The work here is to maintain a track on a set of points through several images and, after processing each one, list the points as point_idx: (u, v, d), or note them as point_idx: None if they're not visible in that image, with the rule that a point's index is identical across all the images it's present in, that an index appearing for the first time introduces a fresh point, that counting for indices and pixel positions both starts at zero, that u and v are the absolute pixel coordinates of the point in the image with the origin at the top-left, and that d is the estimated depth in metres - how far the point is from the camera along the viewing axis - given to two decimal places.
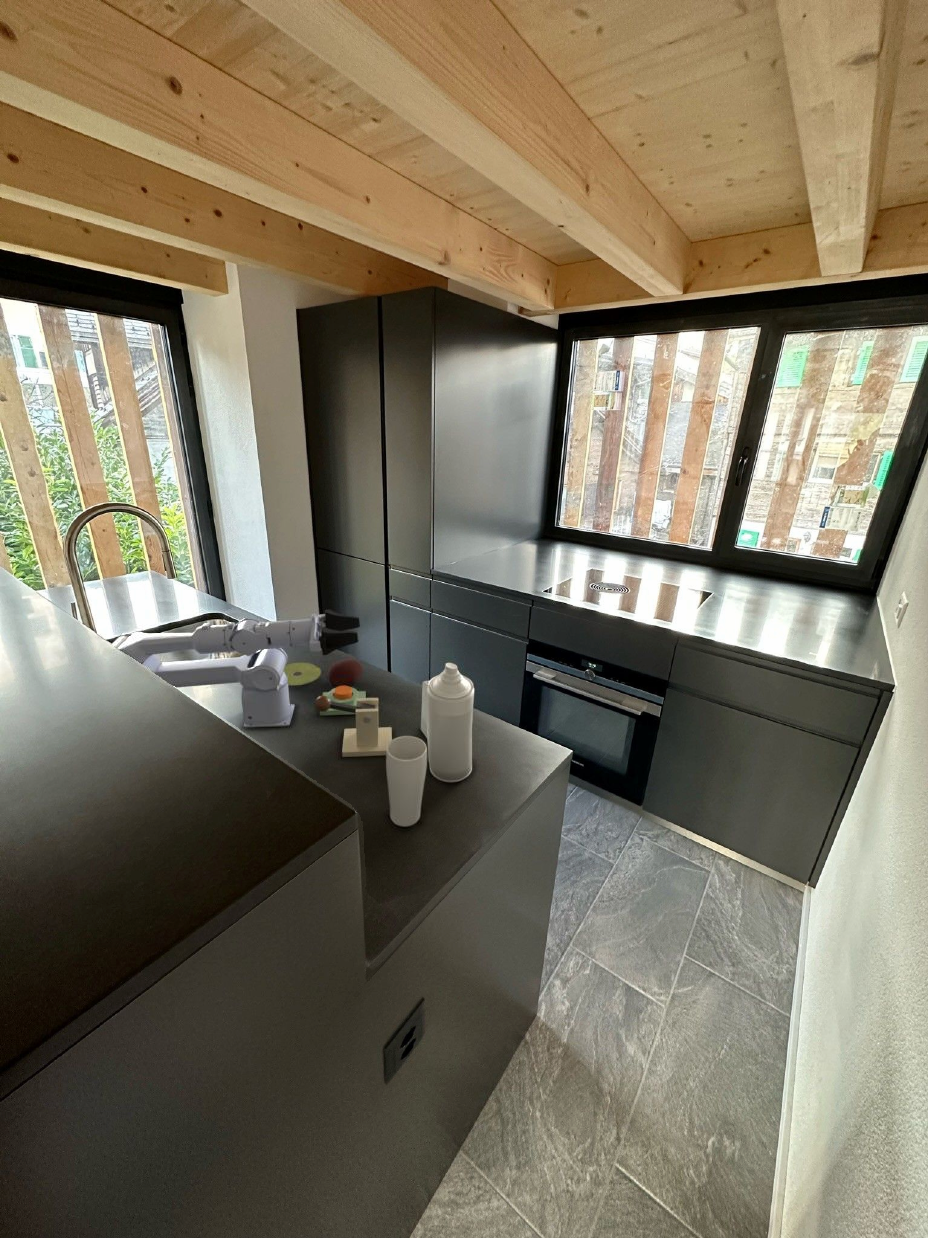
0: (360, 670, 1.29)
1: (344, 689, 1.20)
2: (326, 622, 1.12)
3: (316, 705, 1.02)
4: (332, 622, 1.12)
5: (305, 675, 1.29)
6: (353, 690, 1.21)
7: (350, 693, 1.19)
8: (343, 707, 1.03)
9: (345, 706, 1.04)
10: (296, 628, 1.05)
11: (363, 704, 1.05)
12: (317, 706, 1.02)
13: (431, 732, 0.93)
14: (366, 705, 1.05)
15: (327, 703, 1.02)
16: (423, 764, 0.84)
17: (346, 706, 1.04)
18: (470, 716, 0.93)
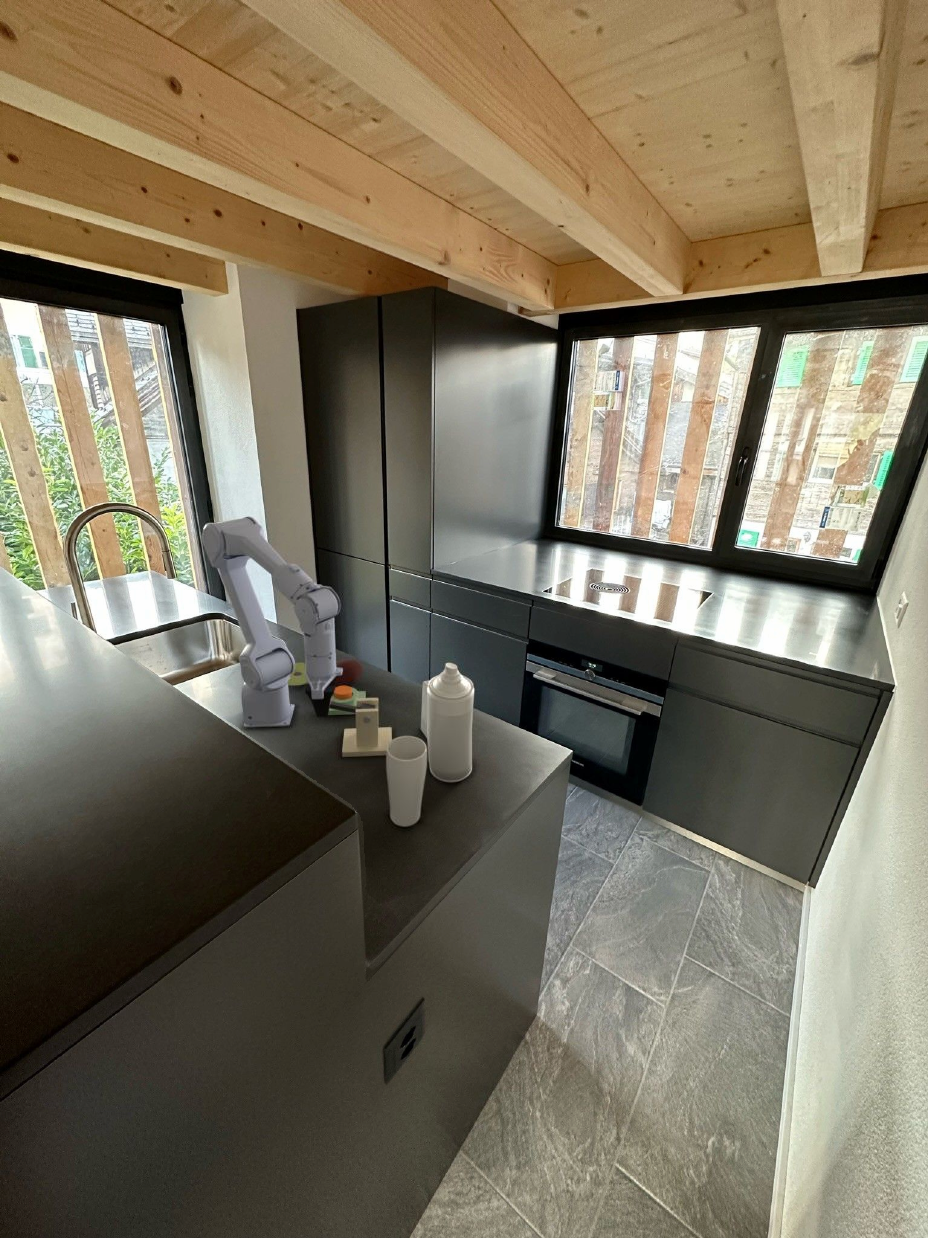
0: (360, 670, 1.29)
1: (344, 689, 1.20)
2: None
3: None
4: None
5: None
6: (353, 690, 1.21)
7: (350, 693, 1.19)
8: (343, 707, 1.03)
9: (345, 706, 1.04)
10: (330, 661, 0.97)
11: (363, 704, 1.05)
12: None
13: (431, 732, 0.93)
14: (366, 705, 1.05)
15: None
16: (423, 764, 0.84)
17: (346, 706, 1.04)
18: (470, 716, 0.93)
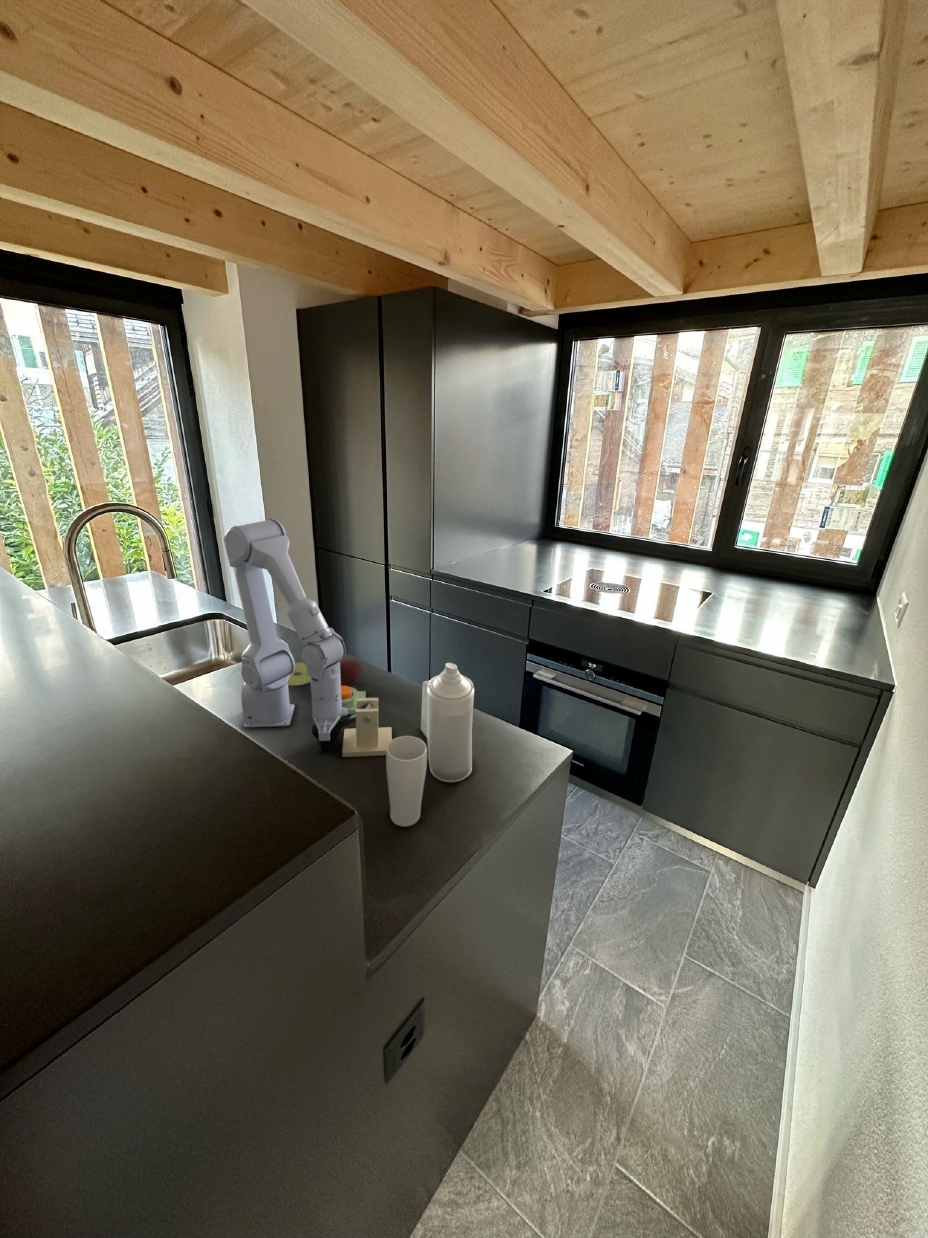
0: (360, 670, 1.29)
1: (344, 689, 1.20)
2: None
3: None
4: None
5: (305, 675, 1.29)
6: (353, 690, 1.21)
7: (350, 693, 1.19)
8: (345, 722, 1.05)
9: (346, 720, 1.05)
10: (336, 703, 1.01)
11: (359, 708, 1.05)
12: None
13: (431, 732, 0.93)
14: (362, 707, 1.05)
15: None
16: (423, 764, 0.84)
17: (347, 720, 1.05)
18: (470, 716, 0.93)
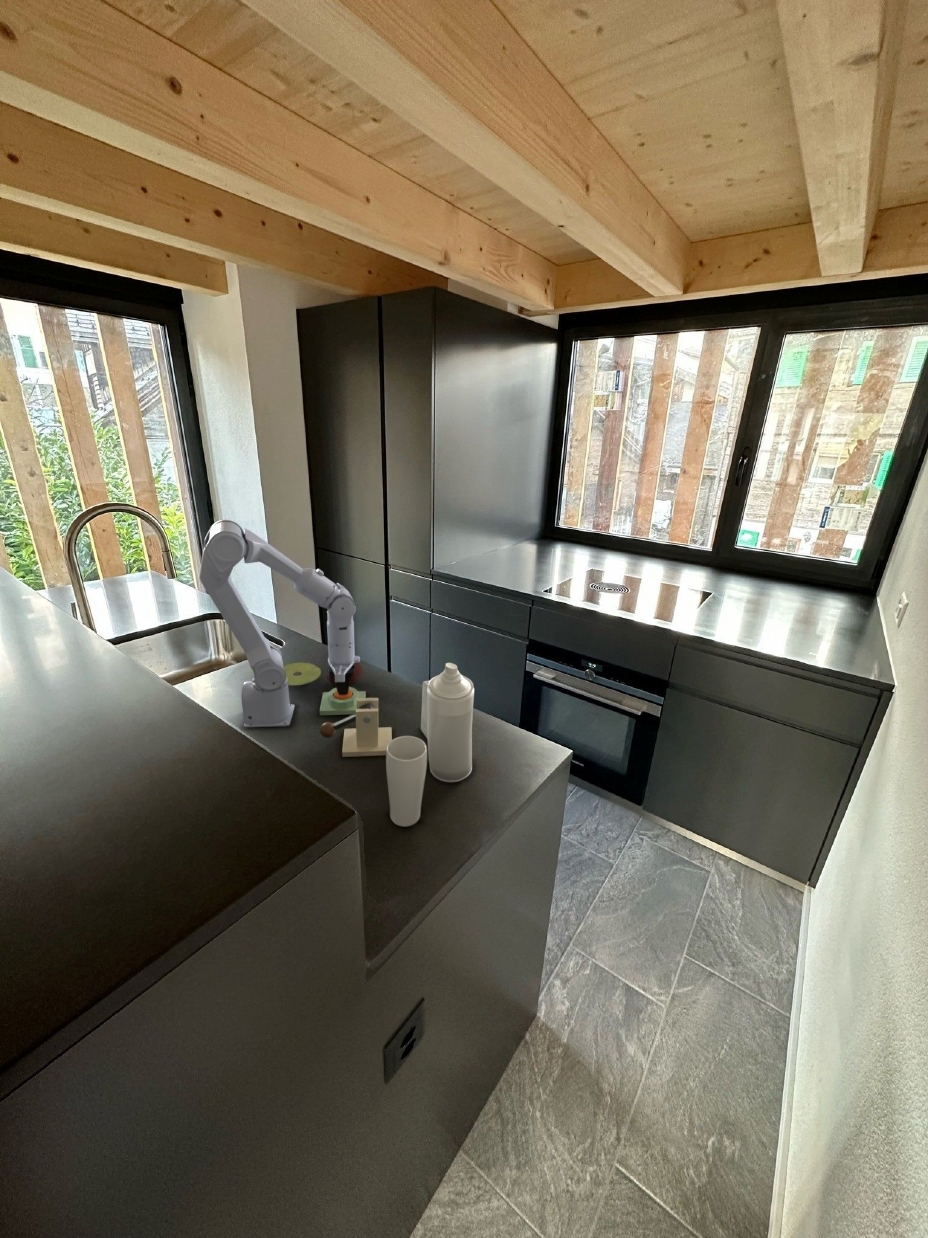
0: (360, 670, 1.29)
1: None
2: None
3: (322, 735, 1.05)
4: None
5: (305, 675, 1.29)
6: (353, 690, 1.21)
7: (350, 696, 1.19)
8: (344, 722, 1.05)
9: (346, 720, 1.05)
10: (350, 649, 1.13)
11: (359, 708, 1.05)
12: (323, 735, 1.05)
13: (431, 732, 0.93)
14: (362, 707, 1.05)
15: (328, 728, 1.04)
16: (423, 764, 0.84)
17: (346, 719, 1.05)
18: (470, 716, 0.93)
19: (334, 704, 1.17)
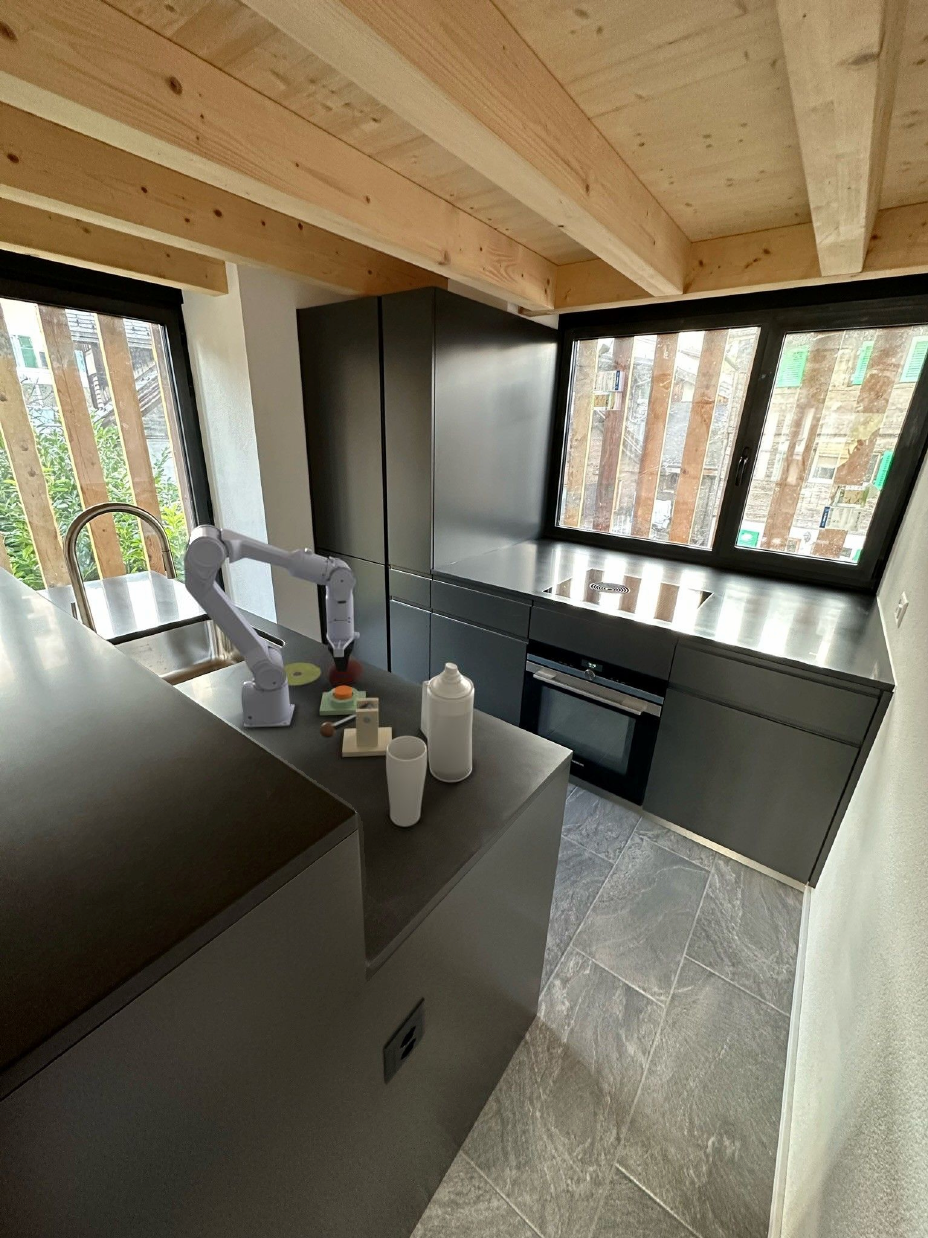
0: (360, 670, 1.29)
1: (344, 689, 1.20)
2: None
3: (322, 735, 1.05)
4: None
5: (305, 675, 1.29)
6: (353, 690, 1.21)
7: (350, 693, 1.19)
8: (344, 722, 1.05)
9: (346, 720, 1.05)
10: (349, 624, 1.11)
11: (359, 708, 1.05)
12: (323, 735, 1.05)
13: (431, 732, 0.93)
14: (362, 707, 1.05)
15: (328, 728, 1.04)
16: (423, 764, 0.84)
17: (346, 719, 1.05)
18: (470, 716, 0.93)
19: (334, 704, 1.17)
